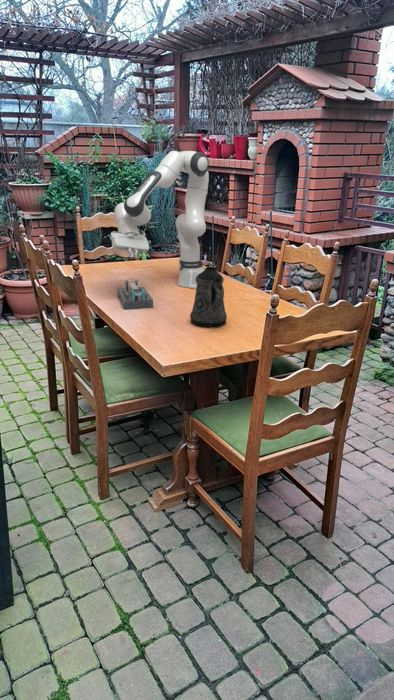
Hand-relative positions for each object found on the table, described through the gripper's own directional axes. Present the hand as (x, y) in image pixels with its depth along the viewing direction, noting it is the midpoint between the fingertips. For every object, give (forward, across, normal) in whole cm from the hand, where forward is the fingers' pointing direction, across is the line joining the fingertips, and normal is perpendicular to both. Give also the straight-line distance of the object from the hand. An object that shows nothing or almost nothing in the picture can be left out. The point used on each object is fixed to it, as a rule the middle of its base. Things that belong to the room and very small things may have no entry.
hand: (133, 257), depth 257 cm
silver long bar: (+14, +2, +7) cm, 16 cm away
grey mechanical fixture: (+18, +3, +12) cm, 22 cm away
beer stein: (+47, +12, -28) cm, 56 cm away
